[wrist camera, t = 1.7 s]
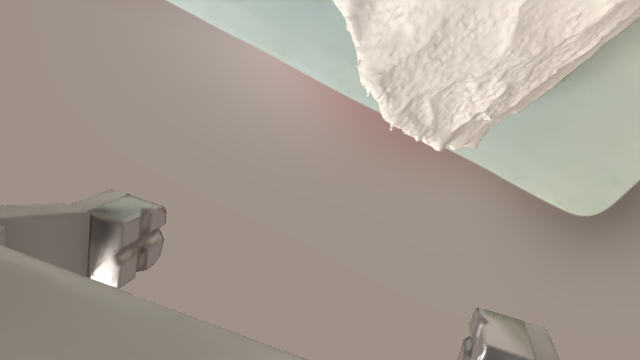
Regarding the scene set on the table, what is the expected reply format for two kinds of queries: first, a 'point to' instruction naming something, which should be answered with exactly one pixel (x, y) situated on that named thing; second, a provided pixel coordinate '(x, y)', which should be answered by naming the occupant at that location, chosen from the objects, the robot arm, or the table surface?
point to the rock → (472, 57)
